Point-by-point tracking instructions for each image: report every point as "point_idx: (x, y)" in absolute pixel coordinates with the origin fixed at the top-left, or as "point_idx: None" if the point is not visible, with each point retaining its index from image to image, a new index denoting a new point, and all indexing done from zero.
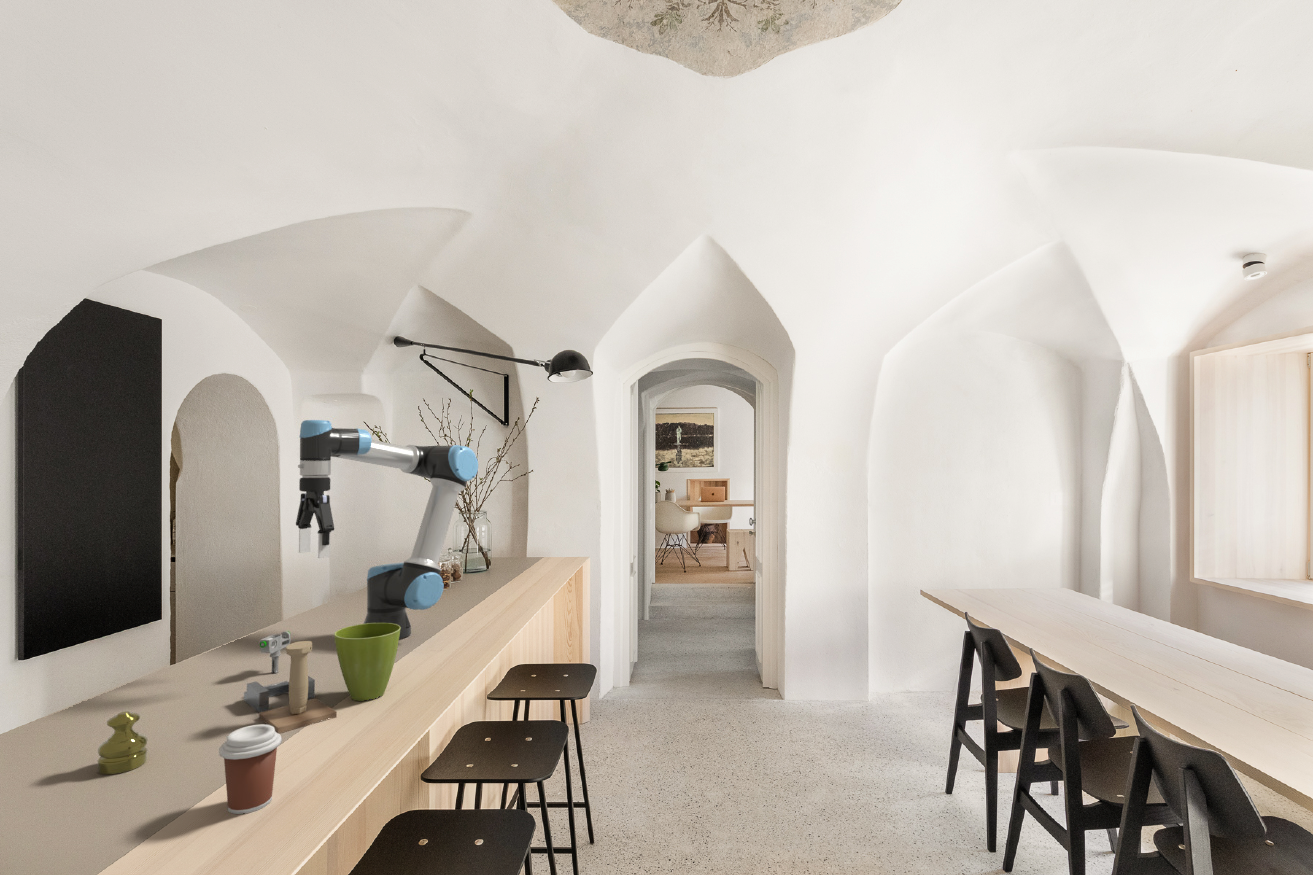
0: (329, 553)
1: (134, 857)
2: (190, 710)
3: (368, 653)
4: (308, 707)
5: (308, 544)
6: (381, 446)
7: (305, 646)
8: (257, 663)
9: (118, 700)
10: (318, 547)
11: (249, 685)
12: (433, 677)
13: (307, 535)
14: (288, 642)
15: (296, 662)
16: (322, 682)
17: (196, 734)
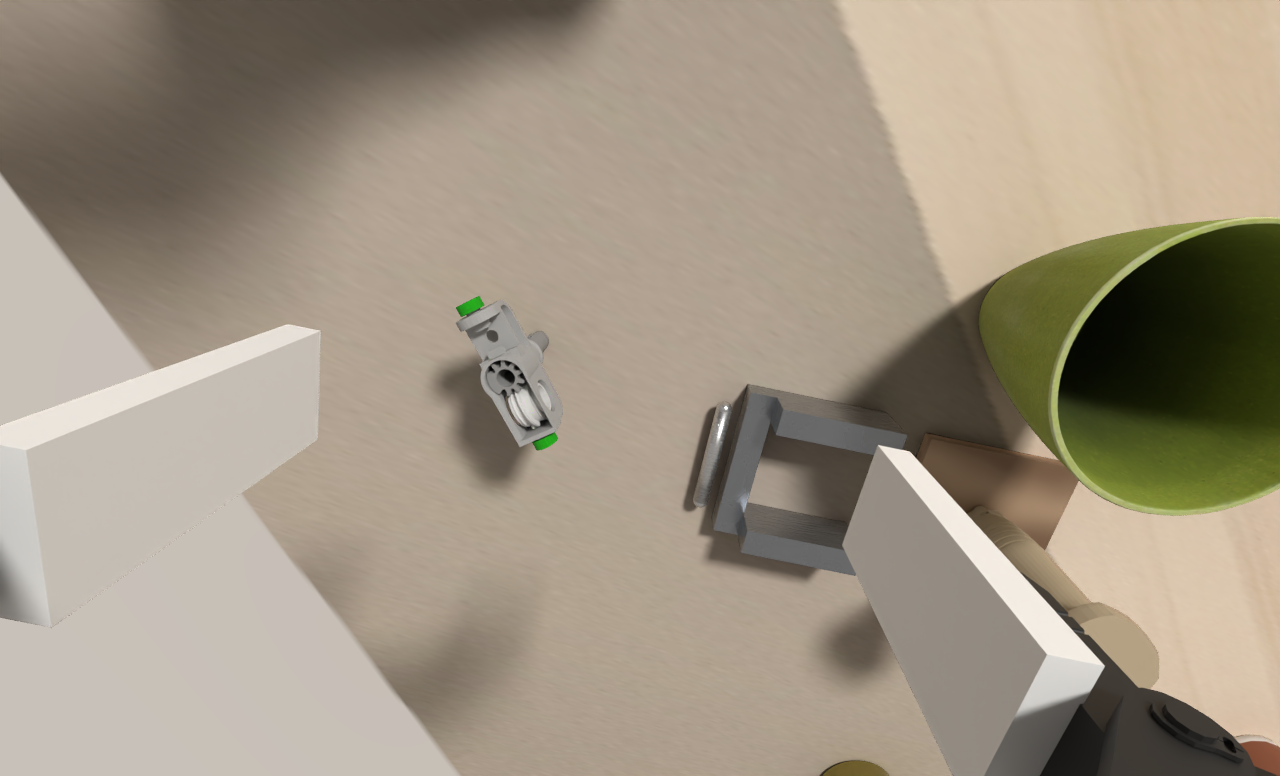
0: (922, 472)
1: None
2: (661, 611)
3: (1244, 427)
4: (975, 489)
5: (260, 377)
6: None
7: (1150, 661)
8: (382, 316)
9: (432, 656)
10: (886, 623)
11: (765, 557)
12: (1136, 43)
13: (158, 445)
14: (502, 306)
15: None
16: (777, 314)
17: (831, 668)
